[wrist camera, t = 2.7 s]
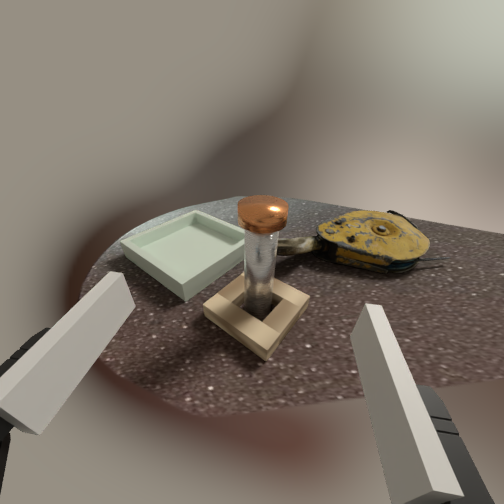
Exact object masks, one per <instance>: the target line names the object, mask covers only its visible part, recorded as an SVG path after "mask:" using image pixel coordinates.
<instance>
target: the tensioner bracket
mask: <svg viewBox="0 0 504 504" xmlns="http://www.w3.org/2000/svg"><path fill="white" fill-rule="evenodd" d="M309 298H310V296H309V295H307V294H305V293H303V292H301V291H299V290H297V289H295V288H293V287H291V286H289V285H287V284H285V283H283V282H281V281H279V280H277V279H275V278H274V282H273V292H272V302H271V303H272V304H273V305H275V306H276V307H275V308H274V309H273V311H272V312H271V313H270V314H269V315H268V316H267V317H266V318H265V319H264V320H263V322H261V321H260V320H258V319H256V318H255V317H253V316H252V315H250V314H249V313H247V312H246V311H244V310H243V309H241V308H239V307H240V306H241V305H242V304H243V303H244V273H242V274H241V275H240V276H239V277H237V278H236V279H235V280H233V281H232V282H231V283H230V284H228V285H227V286H226V287H224V288H223V289H222V290H221V291H219V292H218V293H217V294H216V295H214V296H213V297H212V298H210V299H209V300H208V301H207V302H205V303H204V304H203V309H204V315H205V317H207V318H208V319H209V320H211V321H212V322H213V323H215V324H216V325H218V326H219V327H220V328H222V329H223V330H224V331H226V332H227V333H228V334H230V335H231V336H232V337H234V338H235V339H236V340H238V341H239V342H240V343H242V344H243V345H244V346H246V347H247V348H248V349H250V350H251V351H252V352H254V353H255V354H256V355H258V356H259V357H260V358H262V359H263V360H264V361H267V360H268V359H269V357H270V356H271V355H272V353H273V352H274V351H275V349H276V348H277V347H278V346H279V344H280V343H281V342H282V340H283V339H284V338H285V336H286V335H287V334H288V332H289V331H290V330H291V328H292V327H293V326H294V324H295V323H296V322H297V320H298V319H299V318H300V316H301V315H302V314H303V313H304V311H305V310H306V309H307V307H308V303H309Z"/></svg>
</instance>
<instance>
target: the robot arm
mask: <svg viewBox="0 0 504 504" xmlns="http://www.w3.org/2000/svg"><path fill="white" fill-rule="evenodd" d="M134 308H135V304H134V301H133V299H132V296H131V293H130V291H129V288H128V286H127V283H126V280H125V278H124V275H123V273H118V272H109V273H108V274H107V275H106V276H105V277H104V278H103V279H102V280H101V281H100V282H99V283H98V284H97V285H96V286H95V287H93V288H92V289H91V290H90V291H89V292H88V293H87V294H86V295H85V296H84V297H83V298H82V299H81V300H80V301H79V302H78V303H77V304H76V305H75V306H74V307H73V308H72V309H71V310H70V311H69V312H68V313H67V314H66V315H64V316H63V317H62V318H61V319H60V320H59V321H58V322H57V323H56V324H55V325H54V326H53V327H52V328H45V329H43V330H42V331H40V332H39V333H37V334H35V335H34V336H32V337H31V338H30V339H29V340H28V341H27V342H26V343H25V344H24V345H22V346H21V347H20V349H19V350H17V351H16V352H15V353H14V354H13V355H12V356H11V357H10V359H7V360H6V361H5V362H4V363H3V364H2V365H1V366H0V493H1V488H2V482H3V477H4V472H5V466H6V461H7V455H8V450H9V444H10V440H11V439H10V433H9V432H10V430H11V429H12V428H13V427H16V428H17V429H19V430H20V431H22V432H25V433H30V434H35V435H41V433H42V432H43V431H44V429H45V428H46V427H47V425H48V424H49V423H50V421H51V420H52V419H53V417H54V416H55V415H56V413H57V412H58V411H59V409H60V408H61V407H62V405H63V404H64V403H65V401H66V400H67V398H68V397H69V396H70V394H71V393H72V392H73V390H74V389H75V388H76V386H77V385H78V384H79V382H80V381H81V379H82V378H83V377H84V375H85V374H86V373H87V371H88V370H89V369H90V367H91V366H92V365H93V363H94V362H95V361H96V359H97V358H98V357H99V355H100V354H101V353H102V351H103V350H104V349H105V347H106V346H107V344H108V343H109V342H110V340H111V339H112V338H113V336H114V335H115V334H116V332H117V331H118V330H119V328H120V327H121V326H122V324H123V323H124V321H125V320H126V319H127V317H128V316H129V315H130V313H131V312H132V311H133V309H134ZM350 339H351V343H352V347H353V351H354V355H355V359H356V363H357V367H358V371H359V375H360V379H361V383H362V387H363V391H364V395H365V399H366V403H367V407H368V411H369V415H370V419H371V423H372V427H373V431H374V435H375V439H376V443H377V447H378V451H379V455H380V459H381V464H382V467H383V472H384V475H385V480H386V484H387V488H388V492H389V496H390V500H391V503H392V504H495V503H494V501H493V500H492V498H491V496H490V494H489V492H488V490H487V489H486V486H485V484H484V482H483V481H482V479H481V476H480V475H479V472H478V470H477V468H476V467H475V465H474V462H473V460H472V459H471V457H470V455H469V452H468V451H467V449H466V447H465V445H464V443H463V441H462V439H461V437H459V433H458V431H457V429H456V427H455V425H454V423H453V422H452V419H451V417H450V415H449V413H448V411H447V409H446V407H445V405H444V403H443V401H442V400H441V399H440V398H439V396H438V395H437V394H436V393H435V392H434V390H433V389H432V388H431V387H429V386H423V385H416V384H415V382H414V380H413V377H412V375H411V373H410V370H409V368H408V366H407V364H406V361H405V359H404V357H403V354H402V352H401V350H400V347H399V345H398V343H397V341H396V338H395V336H394V334H393V331H392V329H391V327H390V324H389V322H388V320H387V318H386V315H385V313H384V311H383V308H382V306H381V305H373V304H365V305H364V308H363V310H362V312H361V314H360V316H359V318H358V320H357V323H356V325H355V327H354V329H353V331H352V333H351V336H350Z"/></svg>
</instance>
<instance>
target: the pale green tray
mask: <svg viewBox="0 0 504 504" xmlns="http://www.w3.org/2000/svg"><path fill="white" fill-rule="evenodd" d="M244 239H245V230H244V229H241V228H239V227H237V226H234V225H232V224H229V223H227V222H225V221H222V220H220V219H217V218H215V217H213V216H210V215H208V214H205V213H203V212H201V211H198V210H194V211H192V212H189V213H187V214H184V215H182V216H180V217H177V218H175V219H172V220H170V221H167V222H165V223H163V224H160V225H158V226H155V227H153V228H150V229H148V230H146V231H143V232H141V233H138V234H136V235H133V236H131V237H129V238H126V239H124V240H121V241H120V243H121V246H122V249H123V251H124V254H125V257H126V258H128V259H129V260H130V261H132V262H133V263H134V264H136V265H137V266H138V267H140V268H141V269H142V270H144V271H145V272H146V273H148V274H149V275H150V276H152V277H153V278H154V279H156V280H157V281H158V282H160V283H161V284H162V285H164V286H165V287H167V288H168V289H169V290H171V291H172V292H173V293H175V294H176V295H177V296H179V297H180V298H181V299H183V300H184V301H185V302H186V301H188V300H189V299H190V298H192V297H193V296H195V295H196V294H197V293H199V292H200V291H201V290H203V289H204V288H206V287H207V286H208V285H210V284H211V283H212V282H214V281H215V280H217V279H218V278H219V277H221V276H222V275H223V274H225V273H226V272H228V271H229V270H230V269H232V268H233V267H234V266H236V265H237V264H239V263H240V262H241V261H243V260H244Z"/></svg>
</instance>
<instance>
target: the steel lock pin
mask: <svg viewBox="0 0 504 504" xmlns="http://www.w3.org/2000/svg"><path fill="white" fill-rule="evenodd" d="M287 215H288V204H287V202H285V201H284V200H282V199H280V198H277V197H273V196H267V195H255V196H249V197H245V198H243V199H241V200H240V201H239V202H238V224H239V225H240V226H241V227H242V228H244V229H245V239H244V311H246V312H247V313H249V314H250V315H252V316H253V317H255V318H256V319H258V320H260V321H261V322H263V320H264V319H265V318H266V317H267V316H268V315H269V314H270V311H271V302H272V292H273V282H274V273H275V263H276V254H277V244H278V235H279V231H280V230H282V229H283V228H284V227H285V226H286V223H287Z"/></svg>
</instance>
